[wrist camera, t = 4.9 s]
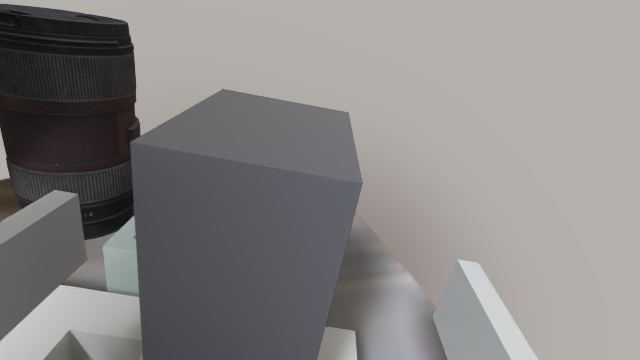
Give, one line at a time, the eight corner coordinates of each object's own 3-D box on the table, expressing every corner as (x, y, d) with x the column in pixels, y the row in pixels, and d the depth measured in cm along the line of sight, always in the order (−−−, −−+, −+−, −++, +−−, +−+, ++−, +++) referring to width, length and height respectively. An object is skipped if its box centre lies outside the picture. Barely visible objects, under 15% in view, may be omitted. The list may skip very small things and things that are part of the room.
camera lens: (86, 184, 31) (64, 6, 25) (162, 208, 30) (159, 27, 24) (-12, 226, 24) (-76, -9, 18) (83, 260, 23) (49, 19, 17)
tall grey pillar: (151, 496, 12) (129, 141, 6) (208, 348, 17) (223, 89, 12) (277, 513, 12) (362, 183, 7) (294, 361, 18) (348, 112, 12)
